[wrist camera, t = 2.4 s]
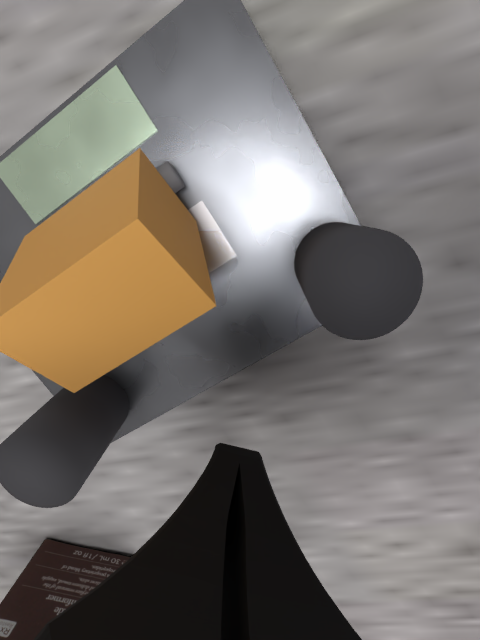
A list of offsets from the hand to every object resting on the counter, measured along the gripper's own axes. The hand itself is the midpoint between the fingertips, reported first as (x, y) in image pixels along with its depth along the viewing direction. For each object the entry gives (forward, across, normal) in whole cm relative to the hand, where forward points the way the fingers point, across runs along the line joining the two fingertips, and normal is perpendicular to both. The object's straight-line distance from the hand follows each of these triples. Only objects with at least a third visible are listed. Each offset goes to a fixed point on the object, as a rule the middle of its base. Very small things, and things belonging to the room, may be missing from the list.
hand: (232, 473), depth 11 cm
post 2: (+5, -2, -6) cm, 8 cm away
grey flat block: (+8, +5, -5) cm, 10 cm away
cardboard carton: (+5, +6, -6) cm, 10 cm away
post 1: (+5, +6, +2) cm, 8 cm away
